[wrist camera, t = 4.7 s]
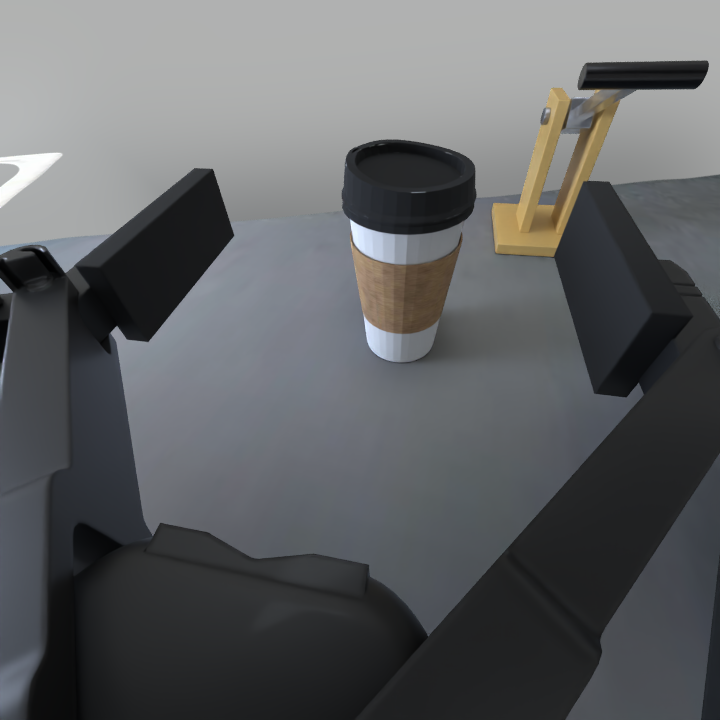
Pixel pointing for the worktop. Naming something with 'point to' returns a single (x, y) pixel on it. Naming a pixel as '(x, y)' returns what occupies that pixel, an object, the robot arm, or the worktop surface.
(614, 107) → the lever stand
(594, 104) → the lever handle
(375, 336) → the coffee cup
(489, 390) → the worktop surface
